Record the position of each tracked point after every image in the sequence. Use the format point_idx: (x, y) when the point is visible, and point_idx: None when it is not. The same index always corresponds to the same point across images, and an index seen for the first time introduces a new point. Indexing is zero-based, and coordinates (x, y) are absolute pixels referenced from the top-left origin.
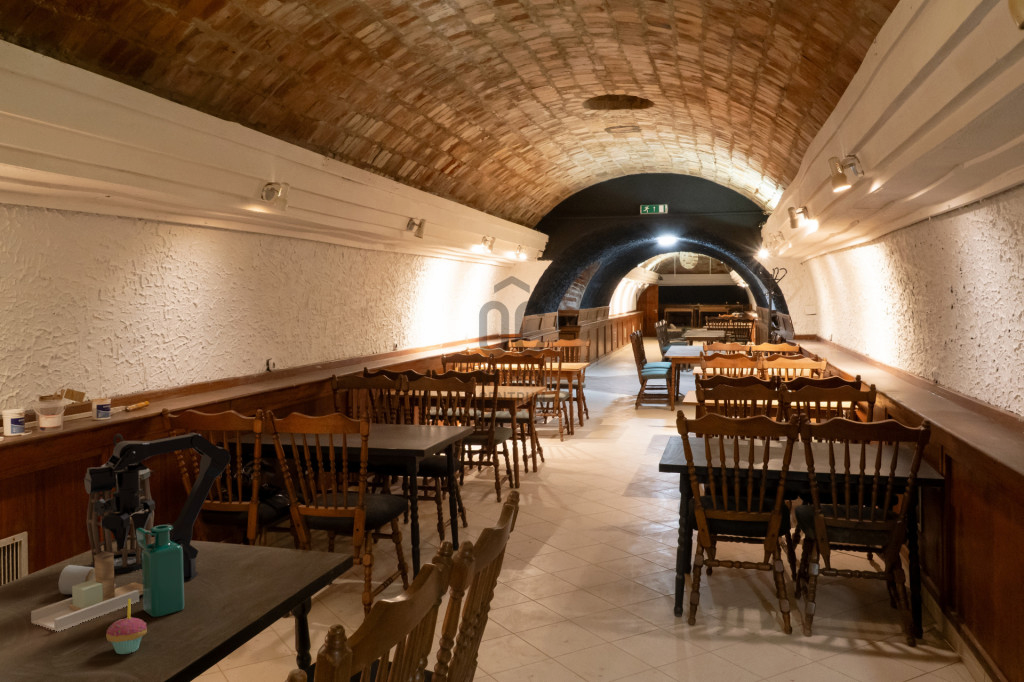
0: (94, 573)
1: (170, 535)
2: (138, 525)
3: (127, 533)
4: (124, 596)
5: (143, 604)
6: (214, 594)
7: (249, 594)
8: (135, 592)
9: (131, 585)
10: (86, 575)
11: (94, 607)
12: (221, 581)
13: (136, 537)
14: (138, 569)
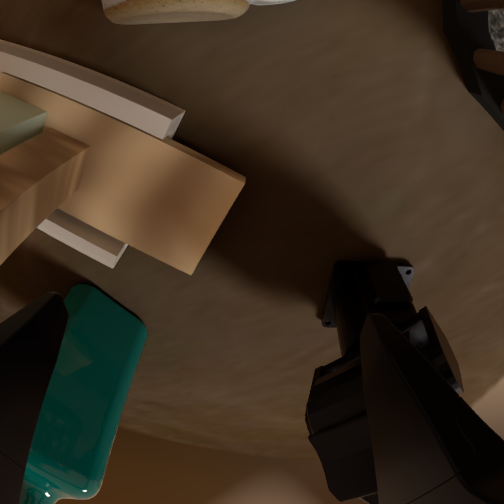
0: (163, 13)
1: (341, 453)
2: (401, 446)
3: (19, 447)
4: (63, 241)
5: (65, 297)
6: (215, 386)
7: (222, 423)
8: (101, 261)
9: (202, 190)
10: (106, 6)
11: None
12: (309, 380)
13: (370, 323)
14: (484, 106)
